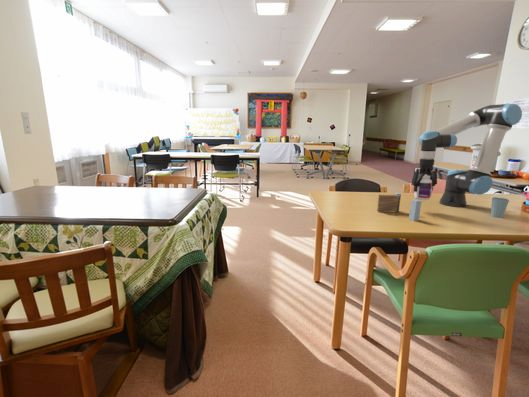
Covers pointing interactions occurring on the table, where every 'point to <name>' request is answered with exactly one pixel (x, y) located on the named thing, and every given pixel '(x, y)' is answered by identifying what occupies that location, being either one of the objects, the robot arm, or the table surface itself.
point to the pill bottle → (424, 188)
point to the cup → (498, 207)
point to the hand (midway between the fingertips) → (422, 196)
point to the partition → (414, 209)
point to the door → (388, 203)
